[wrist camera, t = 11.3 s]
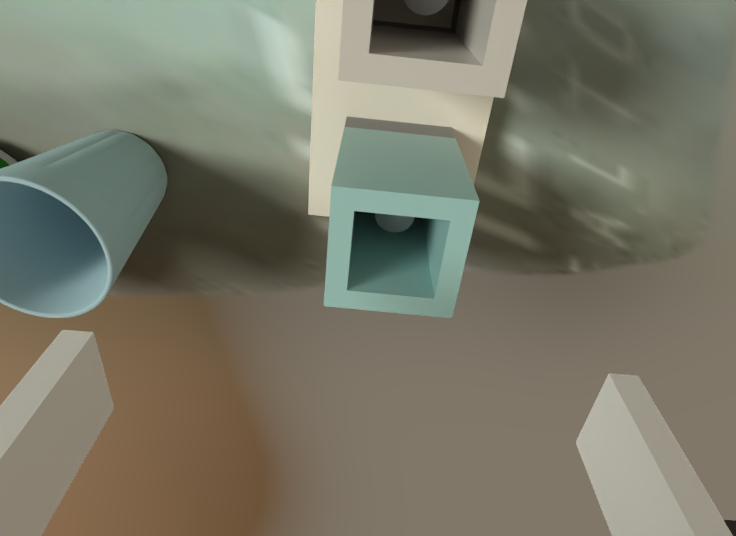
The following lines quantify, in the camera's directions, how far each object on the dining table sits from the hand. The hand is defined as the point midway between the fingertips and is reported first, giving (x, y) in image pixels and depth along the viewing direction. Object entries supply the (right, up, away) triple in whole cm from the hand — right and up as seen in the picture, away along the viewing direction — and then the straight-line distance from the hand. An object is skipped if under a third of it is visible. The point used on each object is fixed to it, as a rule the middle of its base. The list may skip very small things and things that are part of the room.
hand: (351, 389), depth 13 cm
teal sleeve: (+2, +9, +17) cm, 19 cm away
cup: (-15, +10, +19) cm, 26 cm away
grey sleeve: (+3, +18, +12) cm, 21 cm away
